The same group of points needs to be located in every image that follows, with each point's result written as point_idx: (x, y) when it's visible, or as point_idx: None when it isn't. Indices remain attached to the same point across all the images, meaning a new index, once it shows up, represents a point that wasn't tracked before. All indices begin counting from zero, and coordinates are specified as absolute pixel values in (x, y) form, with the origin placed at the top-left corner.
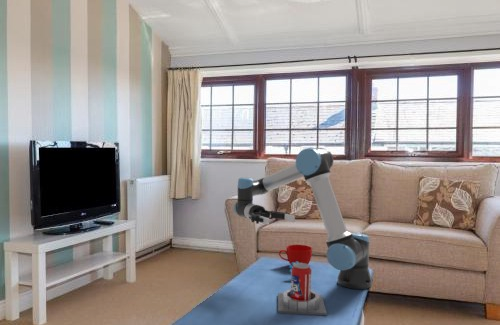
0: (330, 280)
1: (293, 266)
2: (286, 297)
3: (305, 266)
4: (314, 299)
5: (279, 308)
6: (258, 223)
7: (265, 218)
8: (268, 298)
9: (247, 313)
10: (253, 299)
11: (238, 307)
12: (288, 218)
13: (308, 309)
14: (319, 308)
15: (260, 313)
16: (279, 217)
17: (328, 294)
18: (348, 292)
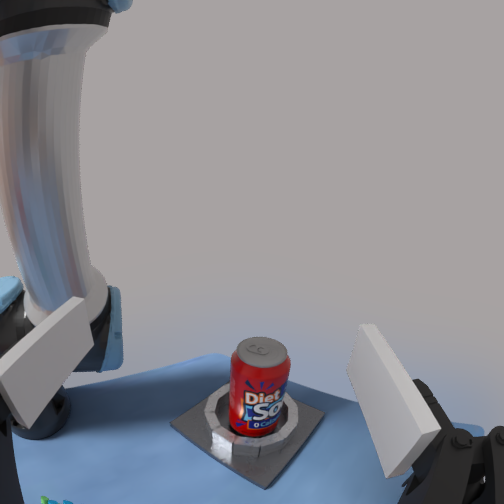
0: (41, 455)
1: (284, 361)
2: (296, 414)
3: (258, 341)
4: None
5: (317, 418)
6: (405, 481)
7: (387, 350)
8: (302, 485)
9: None
10: (345, 491)
11: None
12: (53, 368)
13: None
14: None
15: (358, 426)
16: (11, 475)
17: (139, 425)
18: (95, 402)
